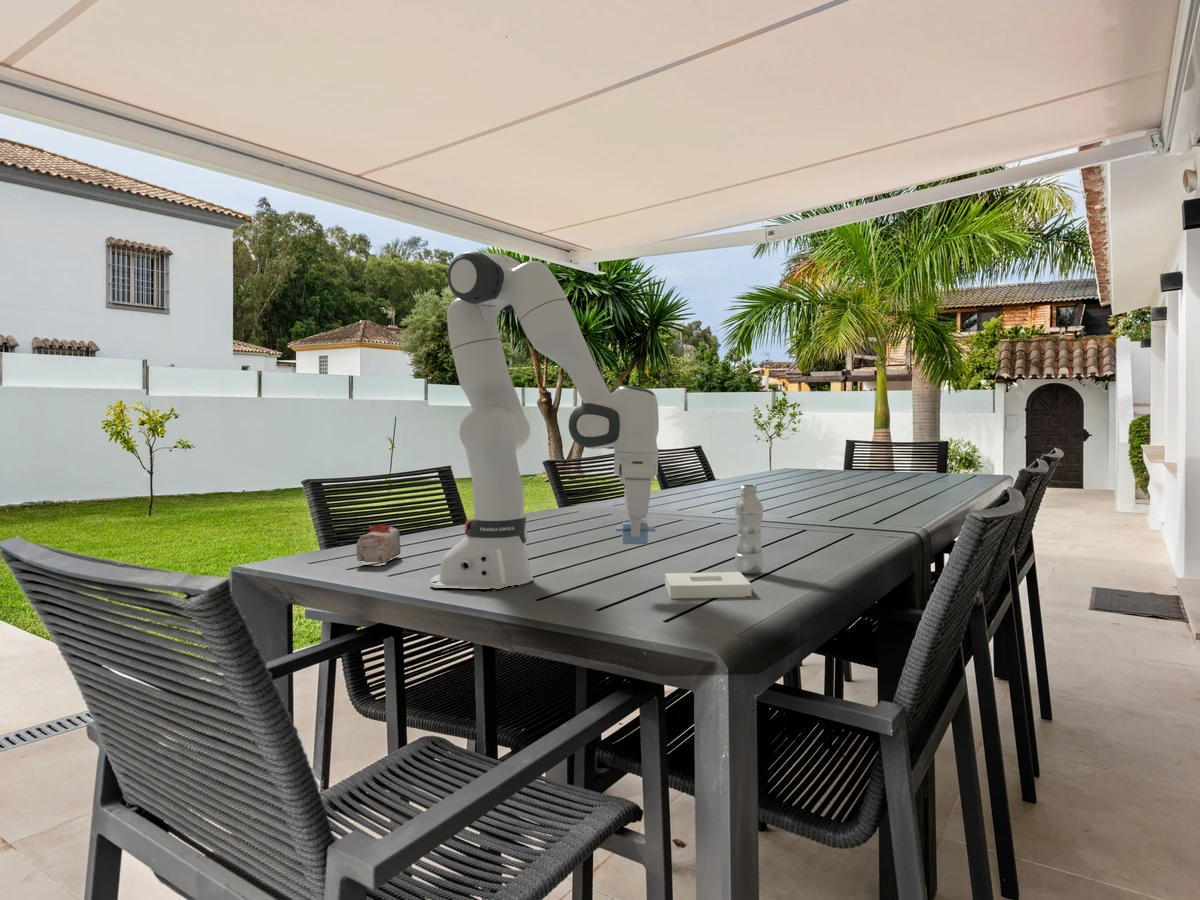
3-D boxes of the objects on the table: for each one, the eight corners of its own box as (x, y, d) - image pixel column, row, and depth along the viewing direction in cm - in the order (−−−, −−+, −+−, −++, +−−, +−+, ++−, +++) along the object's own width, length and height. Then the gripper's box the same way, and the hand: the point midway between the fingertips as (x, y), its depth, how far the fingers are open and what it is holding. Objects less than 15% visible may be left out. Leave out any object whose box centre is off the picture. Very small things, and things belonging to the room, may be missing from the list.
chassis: (670, 598, 149) (670, 586, 149) (665, 585, 161) (664, 573, 161) (751, 596, 149) (751, 584, 149) (740, 583, 161) (739, 571, 161)
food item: (386, 567, 187) (384, 528, 187) (354, 568, 188) (353, 528, 187) (403, 557, 201) (402, 520, 201) (374, 557, 201) (372, 521, 201)
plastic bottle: (729, 574, 171) (727, 486, 170) (745, 569, 176) (744, 483, 175) (753, 577, 167) (752, 487, 166) (769, 572, 172) (768, 485, 171)
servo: (615, 543, 152) (615, 521, 152) (614, 541, 155) (615, 519, 155) (655, 544, 152) (655, 521, 152) (653, 541, 155) (654, 519, 155)
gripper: (618, 462, 163) (617, 526, 164) (622, 469, 142) (620, 542, 143) (647, 463, 163) (646, 526, 164) (655, 470, 142) (654, 543, 143)
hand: (634, 534), depth 153 cm, fingers closed on servo, 3 cm apart
